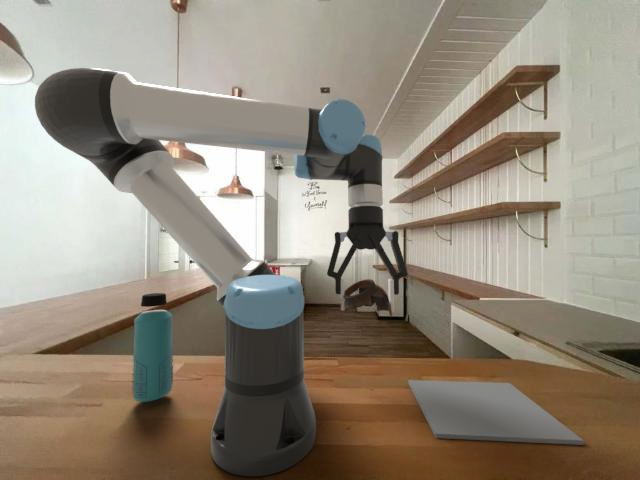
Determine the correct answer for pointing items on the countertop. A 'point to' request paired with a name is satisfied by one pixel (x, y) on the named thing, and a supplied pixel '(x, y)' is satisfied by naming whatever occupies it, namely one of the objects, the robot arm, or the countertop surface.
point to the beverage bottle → (152, 351)
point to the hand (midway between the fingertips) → (366, 309)
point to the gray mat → (487, 413)
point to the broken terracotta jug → (366, 296)
